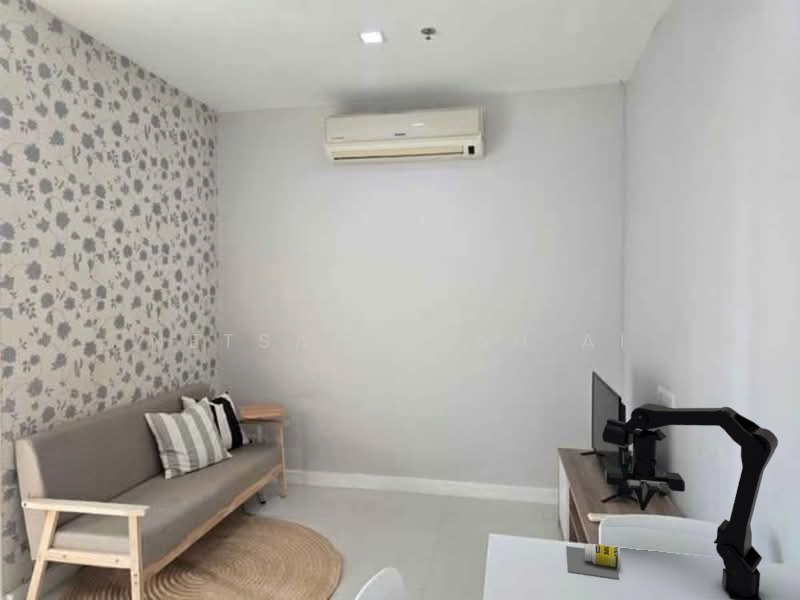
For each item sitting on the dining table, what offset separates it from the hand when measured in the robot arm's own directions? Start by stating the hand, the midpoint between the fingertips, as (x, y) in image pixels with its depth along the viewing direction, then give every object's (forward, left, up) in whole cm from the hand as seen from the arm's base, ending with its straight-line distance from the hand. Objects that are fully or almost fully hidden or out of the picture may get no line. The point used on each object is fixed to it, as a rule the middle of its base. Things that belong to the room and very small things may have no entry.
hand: (642, 509), depth 142 cm
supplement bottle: (+6, +9, -9) cm, 14 cm away
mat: (+13, +8, -12) cm, 19 cm away
